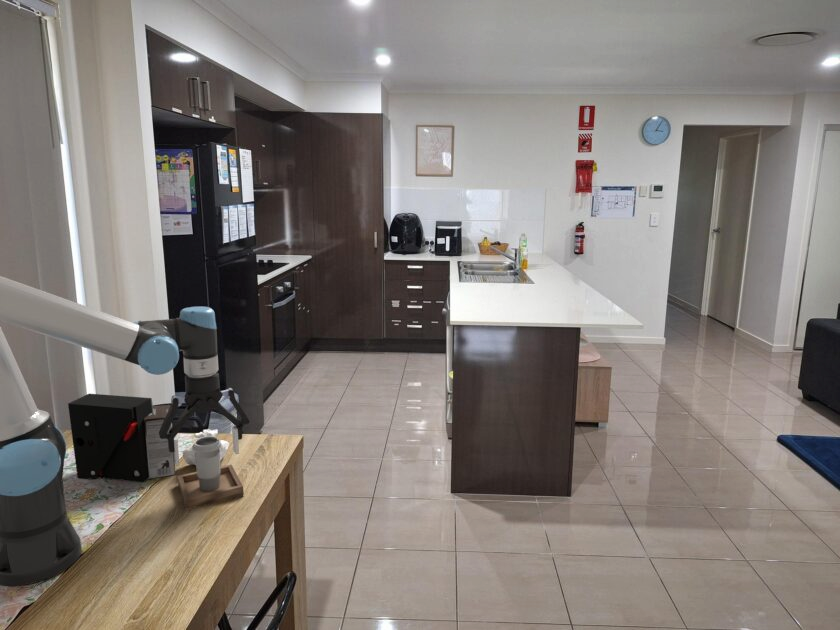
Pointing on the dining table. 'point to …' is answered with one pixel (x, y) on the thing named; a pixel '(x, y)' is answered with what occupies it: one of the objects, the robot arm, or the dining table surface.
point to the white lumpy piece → (189, 453)
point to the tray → (197, 498)
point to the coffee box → (158, 444)
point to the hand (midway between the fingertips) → (207, 457)
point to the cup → (207, 462)
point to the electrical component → (110, 436)
